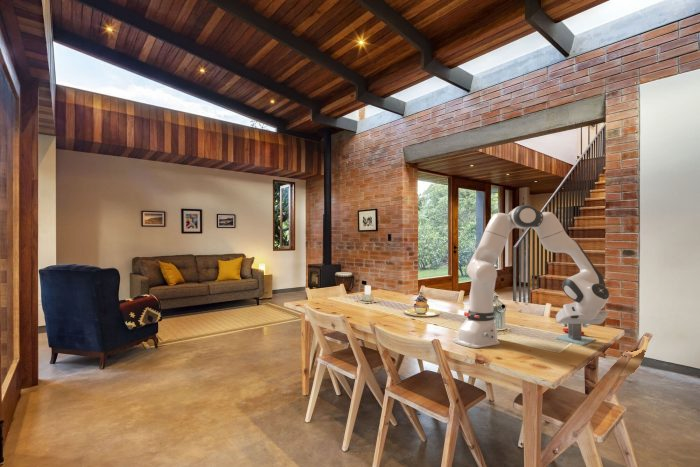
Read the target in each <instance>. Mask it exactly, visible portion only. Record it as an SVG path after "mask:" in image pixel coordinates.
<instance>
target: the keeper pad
mask: <svg viewBox="0 0 700 467" xmlns="http://www.w3.org/2000/svg"><path fill="white" fill-rule="evenodd" d="M581 336H582V335H581ZM555 340H558V341H562V342H567V343H571V344H576V345H581V346H586V345H587V344H590V343H592V342H594V341H596V338H593V337H588V336H582V340H572V339H570V338H569V337H568V332H567V333H565V334H563V335H560V336H557V337H555Z"/></svg>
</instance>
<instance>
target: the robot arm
mask: <svg viewBox="0 0 700 467" xmlns="http://www.w3.org/2000/svg"><path fill="white" fill-rule="evenodd" d="M529 228H531V229H532V230H534V231H535V233H536V235H537V237H538V239H539V242H540V244H541V245H542V247H543V248H544V250H546V251H549V252H551V253H556V254H559V253H560V254H566V255H569V256H570V258H572V260H573V261H574V263H575V264H576V266H577V267H578V269H579V272H578V273H575V274H574V275H572V276H569V277H567V278H565V279H564V280H563V281H562V286H561V287H562V290H563V293H564V294H565V295H566V296H567V297H568V298H569V299H571V300H573V301H574V302H570V303H565V304H563V306H562V307H563V308H561V309H560V310H558V311H557V313H556V314H555V319H556V322H557V323H558V324H561V325H562V327H563V328H568V324H581V326H582V327H583V328H588V327H589V326H591V325H601V324H603V323H604V322H605V320H606V318H607V315H608V314H609V311H608V310H605V309H604V307H605V306H606V304H607V303H608V301H609V300H610V291H609V289H608V288H607V287H606V286H605V285H604V284H605V279H604V276H603V274H602V273H601V272H600V270H599V269H597V268H596V266H595V265H594V264H593V262H592V261H591V259H590V258H589V257H588V255H587V253H586V252H585V250H584V249H583V247H581V245H580V244H579V243H578V242H577V241H576V239H573V238H571V237H570V236H569V235H568V234H567V232H566V230H565V229H564V227H563V225H562V223H561V222H560V220H559V219H558V217H557V216H556V215H555V214H554V213H553V212H551V211H544V212H543V211H540V210H539V209H537V208H536V207H535V206H532V205H530V204H523V205H522V204H521V205H519V206H516V207H515V208H513V209H511V210H510V211H509V212H508V213H504V212H497V213H496V212H495V213H494V214H493V215H492V217H491V218H490V219H489V221H488V223H487V225H486V227H485V229H484V232H483V234H482V236H481V238H480V242H479V243H478V246H477V247H476V250H475V251H474V253H473V255H472V256H471V259H470V261H469V263H468V264H467V266H466V271H467V275H468V277H469V278H470V279H471V282H470V283H471V284H470V289H469V290H470V292H469V297H468V298H469V308H468V309H469V310H468V311H467V312H466V311H464V312H463V316H464V317H466V319H465V320H464V321H463V323H462V324H461V326H459V327H458V330H457V336H455V337H454V338H452V342H453V343H455V344H458V345H461V346H464V347H467V348H473V349H479V348H485V347H486V348H487V347H489V346H490V347H491V346H496V345H500V344H501V343H500V341H499V340H498V331H497V325H496V323H495V317H496V316H495V315H496V314H495V311H494V296H495V294H494V293H495V288H496V281H497V278H498V271H497V269H496V267H495V266H494V265H495V263H496V262H497V260H498V258H499V257H500V256H501V255H502V253H503V251H504V249H505V245H506V243H507V241H508V239H509V235H510V233H511V232H512V230H513V229H515V230H516V229H518V230H520V229H521V230H523V229H529ZM602 309H603V310H602Z"/></svg>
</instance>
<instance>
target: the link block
mask: <svg viewBox="0 0 700 467" xmlns="http://www.w3.org/2000/svg"><path fill="white" fill-rule="evenodd" d="M567 325H568V326H567V329H568V332H567V333H568V337H569V338H570V339H572V340H582V334H581V331H582V324H567Z"/></svg>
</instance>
